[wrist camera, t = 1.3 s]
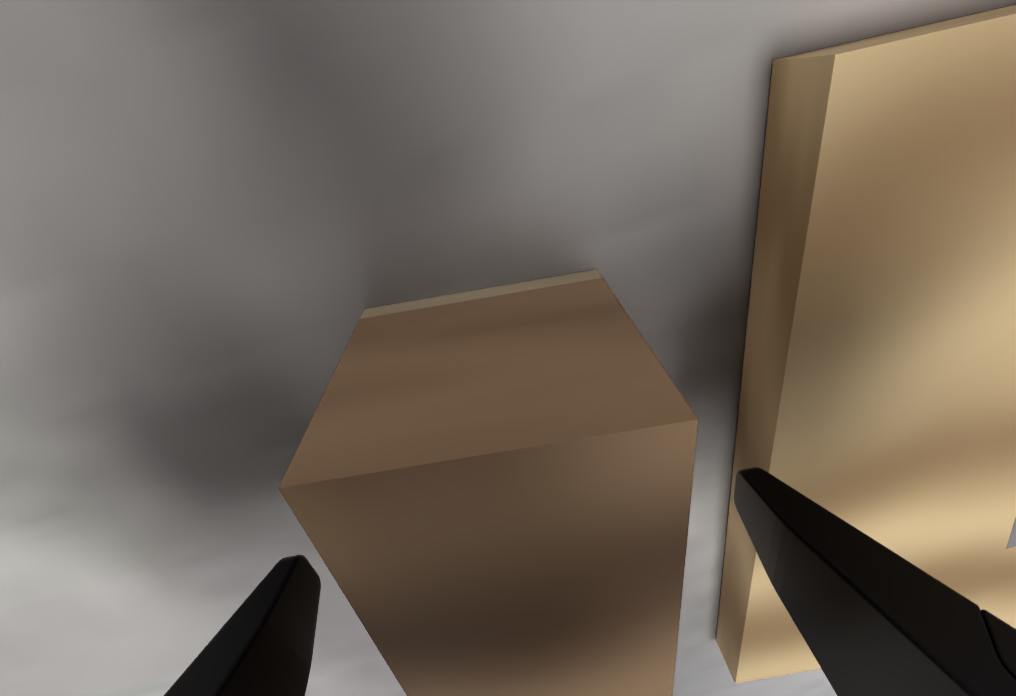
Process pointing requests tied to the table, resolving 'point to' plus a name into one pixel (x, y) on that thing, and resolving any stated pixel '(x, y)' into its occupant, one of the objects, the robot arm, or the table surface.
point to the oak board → (884, 317)
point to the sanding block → (505, 492)
